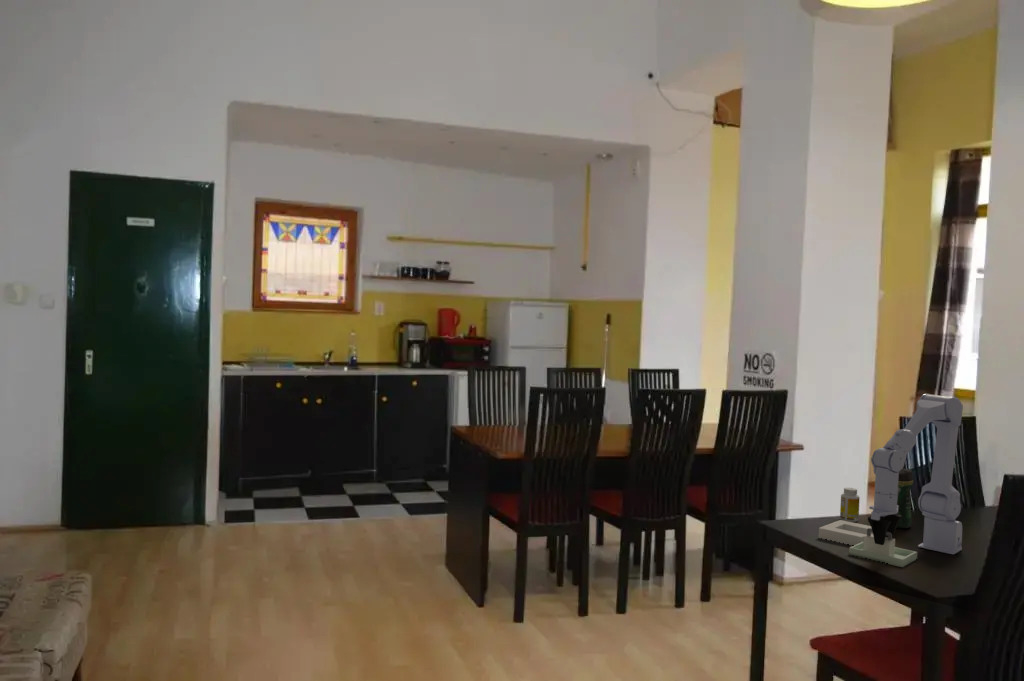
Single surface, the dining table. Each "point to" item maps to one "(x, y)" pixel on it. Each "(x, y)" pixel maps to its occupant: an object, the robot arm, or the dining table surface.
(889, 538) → the block with grey handle
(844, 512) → the supplement bottle
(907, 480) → the coffee jar
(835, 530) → the bay
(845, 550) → the dining table surface
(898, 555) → the tray
